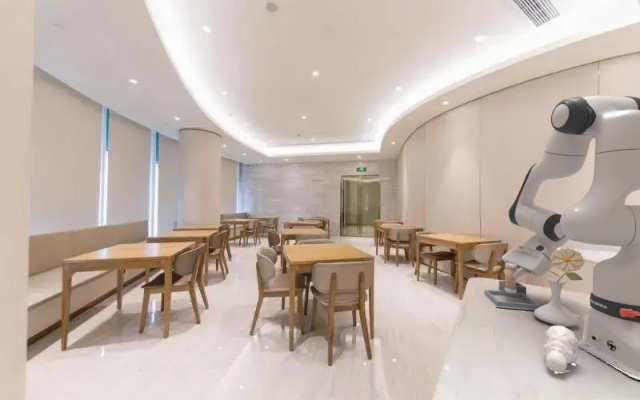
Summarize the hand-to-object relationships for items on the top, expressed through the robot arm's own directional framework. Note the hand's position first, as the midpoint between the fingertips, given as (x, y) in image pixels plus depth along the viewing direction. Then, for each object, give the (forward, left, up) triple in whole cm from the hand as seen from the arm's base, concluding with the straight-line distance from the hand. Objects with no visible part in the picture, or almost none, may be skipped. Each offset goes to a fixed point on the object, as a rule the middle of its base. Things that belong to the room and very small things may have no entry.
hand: (509, 275), depth 108 cm
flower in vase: (-16, -9, -11) cm, 21 cm away
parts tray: (0, -1, -11) cm, 11 cm away
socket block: (+12, -6, -11) cm, 17 cm away
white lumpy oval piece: (-44, +5, -11) cm, 45 cm away
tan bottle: (0, -1, -7) cm, 7 cm away
